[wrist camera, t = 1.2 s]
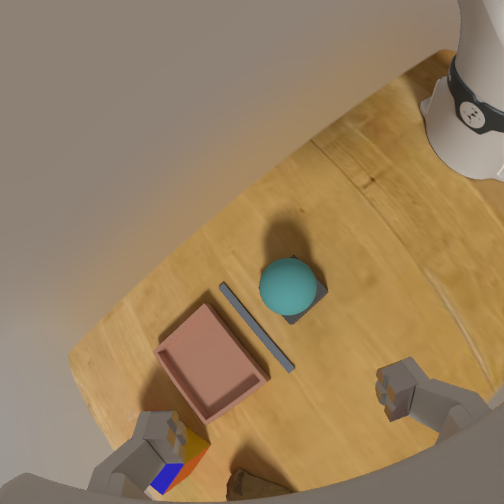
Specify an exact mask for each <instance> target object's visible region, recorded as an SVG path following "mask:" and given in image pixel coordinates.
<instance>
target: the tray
mask: <svg viewBox="0 0 504 504" xmlns="http://www.w3.org/2000/svg"><path fill="white" fill-rule="evenodd" d="M153 353H154V354H155V356H156V357H157V359H158V361H159V362H160V364H161V365H162V367H163V368H164V370H165V371H166V373H167V374H168V376H169V377H170V378H171V380H172V381H173V383H174V384H175V386H176V387H177V388H178V390H179V391H180V393H181V394H182V395H183V397H184V398H185V399H186V401H187V402H188V404H189V405H190V406H191V408H192V409H193V410H194V411H195V413H196V414H197V415H198V417H199V418H200V419H201V420H202V422H203V423H204V424H205V425H208V424H209V423H211V422H212V421H214V420H215V419H217V418H218V417H220V416H221V415H223V414H224V413H225V412H227V411H228V410H230V409H231V408H233V407H234V406H235V405H237V404H238V403H240V402H241V401H242V400H244V399H245V398H246V397H248V396H249V395H250V394H252V393H253V392H254V391H256V390H257V389H258V388H260V387H261V386H262V385H264V384H265V383H266V382H268V381H269V380H270V379H271V378H270V377H269V376H268V375H267V374H266V372H265V371H264V370H263V369H262V368H261V366H260V365H259V364H258V363H257V362H256V360H255V359H254V358H253V357H252V356H251V354H250V353H249V352H248V351H247V349H246V348H245V347H244V346H243V344H242V343H241V342H240V341H239V340H238V338H237V337H236V336H235V335H234V333H233V332H232V331H231V329H230V328H229V327H228V326H227V324H226V323H225V322H224V321H223V319H222V318H221V317H220V315H219V314H218V313H217V311H216V310H215V309H214V308H213V306H212V305H211V304H207V303H204V304H203V305H202V306H201V307H200V308H199V309H198V310H196V311H195V312H194V313H193V314H192V315H191V316H190V317H189V318H188V319H187V320H186V321H185V322H184V323H183V324H181V325H180V326H179V327H178V328H177V329H176V330H175V331H174V332H173V333H172V334H171V335H170V336H169V337H168V338H166V339H165V340H164V341H163V342H162V343H161V344H160V345H159V346H158V347H157V348H156V349H155V350H154V351H153Z"/></svg>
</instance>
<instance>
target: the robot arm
mask: <svg viewBox="0 0 504 504" xmlns="http://www.w3.org/2000/svg"><path fill="white" fill-rule="evenodd" d="M458 4H459V8H460V14H461V27H460V39H459V45H458V50H457V54H456V55H455V56H454V57H453V59H452V62H451V64H450V66H449V70H448V76H443V77H442V79H438V80H437V82H436V85H435V88H434V91H433V94H432V96H431V97H429V98H427V99H425V100H423V101H422V102H421V104H420V110H421V112H422V114H423V116H424V118H425V121H426V131H427V136H428V139H429V141H430V144H431V146H432V147H433V149H434V151H435V152H436V153H437V155H438V156H439V157H440V158H441V159H442V160H443V161H444V162H445V163H446V164H447V165H448V166H449V167H450V168H452V169H453V170H455V171H456V172H458V173H460V174H462V175H464V176H466V177H469V178H473V179H488V178H494V179H497V180H499V181H503V182H504V0H458ZM376 376H377V378H378V381H377V382H376V386H375V390H376V395H377V398H378V400H379V402H380V404H382V405H384V406H385V409H384V412H385V414H386V415H387V417H388V419H389V421H390V422H392V421H394V420H397V419H400V418H402V417H405V416H407V415H409V417H411V418H413V419H415V420H417V421H418V422H420V423H422V424H424V425H426V426H428V427H429V428H431V429H433V430H435V431H437V432H439V433H440V434H439V436H438V439H437V441H436V443H435V445H434V446H432V447H430V448H428V449H426V450H424V451H422V452H419V453H417V454H415V455H413V456H411V457H408V458H406V459H404V460H402V461H399V462H397V463H394V464H392V465H389V466H387V467H384V468H382V469H379V470H376V471H373V472H371V473H368V474H365V475H362V476H359V477H356V478H352V479H349V480H346V481H342V482H339V483H335V484H332V485H328V486H324V487H320V488H316V489H311V490H307V491H302V492H297V493H292V494H286V495H280V496H274V497H267V498H259V499H250V500H240V501H226V502H167V501H153V500H152V499H151V498H150V497H149V496H147V495H146V494H145V493H144V491H145V490H146V489H147V487H148V486H149V485H150V484H151V482H152V481H153V480H154V479H155V478H156V476H157V475H158V474H159V473H160V471H161V470H162V469H163V468H164V466H165V465H166V464H173V463H184V462H185V455H186V450H185V449H184V447H183V446H184V445H185V444H186V443H187V438H188V436H187V430H186V427H185V425H184V423H183V422H181V421H180V420H179V415H178V413H177V411H142V412H141V413H140V414H139V417H138V420H137V423H136V427H135V430H134V433H133V436H132V440H128V441H126V442H125V443H124V444H123V445H122V446H121V447H119V448H118V449H117V450H116V451H115V452H114V453H112V455H110V456H109V457H108V458H107V459H105V460H104V461H103V462H102V463H101V464H99V465H98V466H97V467H96V468H95V469H94V471H93V474H92V477H91V480H90V483H89V486H88V489H87V490H84V489H79V488H75V487H71V486H68V485H64V484H61V483H57V482H54V481H51V480H48V479H45V478H42V477H39V476H36V475H33V474H30V473H23V474H21V475H19V476H17V477H15V478H14V479H12V480H10V481H9V482H7V483H6V484H4V485H3V486H2V487H1V488H0V504H504V402H503V403H502V404H500V405H499V406H498V407H496V408H495V409H494V410H491V409H490V408H489V406H488V405H487V404H486V403H485V402H484V400H483V399H482V398H481V397H480V396H479V394H478V393H476V392H473V391H470V390H467V389H463V388H460V387H457V386H454V385H451V384H448V383H445V382H442V381H439V380H436V379H433V378H432V379H429V378H428V377H427V375H426V374H425V373H424V372H423V370H422V369H421V368H420V367H419V366H418V364H417V363H416V362H415V361H414V359H413V358H412V357H408V358H406V359H403V360H400V361H398V362H395V363H392V364H390V365H387V366H384V367H382V368H379V369H378V370H377V373H376Z"/></svg>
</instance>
